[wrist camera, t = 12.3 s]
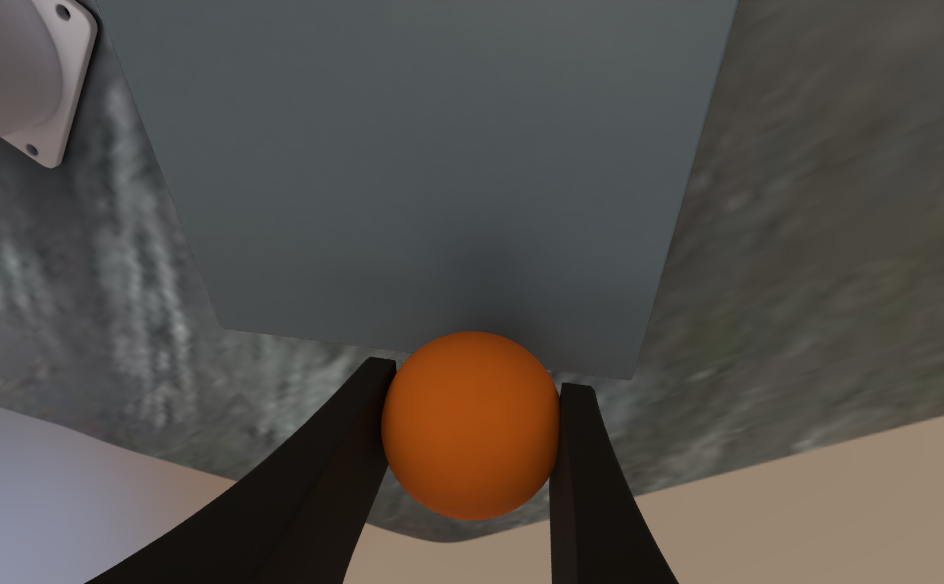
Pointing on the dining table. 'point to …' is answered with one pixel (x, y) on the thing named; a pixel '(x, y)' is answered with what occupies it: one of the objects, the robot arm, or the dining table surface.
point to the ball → (471, 425)
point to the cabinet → (428, 161)
